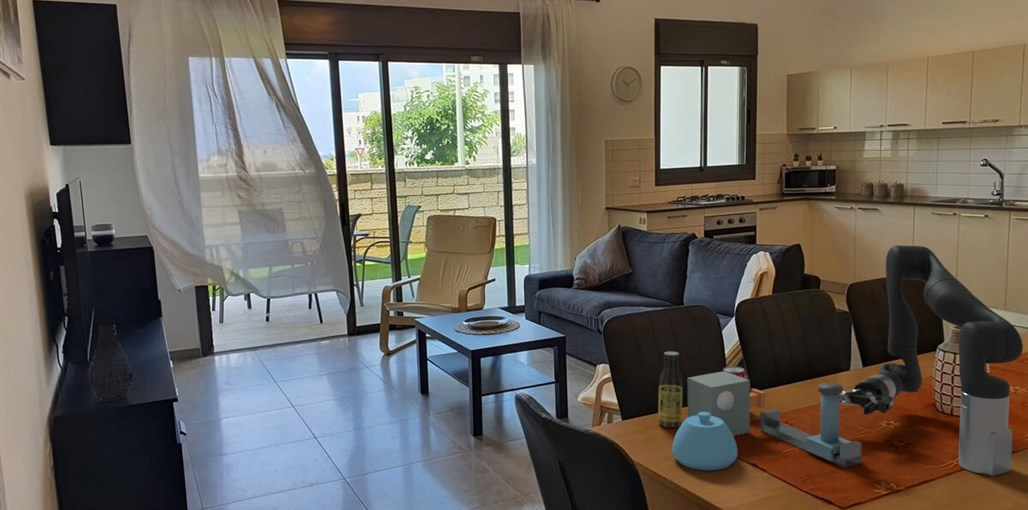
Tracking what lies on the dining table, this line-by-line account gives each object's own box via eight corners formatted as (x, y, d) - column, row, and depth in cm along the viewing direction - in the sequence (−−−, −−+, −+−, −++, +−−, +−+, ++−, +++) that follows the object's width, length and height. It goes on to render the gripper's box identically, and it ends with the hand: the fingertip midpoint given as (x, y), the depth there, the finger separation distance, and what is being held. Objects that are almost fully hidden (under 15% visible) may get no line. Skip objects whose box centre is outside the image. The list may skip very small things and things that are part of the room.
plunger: (764, 407, 203) (764, 392, 202) (739, 412, 200) (739, 397, 199) (754, 403, 207) (754, 388, 206) (729, 408, 203) (729, 393, 203)
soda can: (744, 406, 223) (744, 365, 221) (749, 414, 216) (749, 372, 214) (719, 406, 223) (719, 365, 222) (723, 414, 216) (723, 372, 215)
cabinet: (751, 433, 201) (751, 380, 199) (713, 441, 196) (712, 388, 195) (724, 421, 211) (724, 371, 209) (688, 429, 206) (687, 377, 204)
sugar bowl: (660, 454, 190) (659, 408, 188) (712, 444, 195) (712, 399, 193) (695, 477, 176) (695, 428, 174) (750, 466, 181) (750, 417, 179)
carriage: (854, 455, 183) (855, 388, 181) (830, 461, 180) (831, 393, 178) (828, 444, 190) (829, 379, 188) (805, 449, 187) (805, 384, 185)
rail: (860, 463, 179) (861, 442, 179) (844, 467, 177) (845, 446, 177) (775, 427, 205) (775, 408, 204) (760, 430, 203) (760, 412, 202)
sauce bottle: (657, 428, 208) (656, 355, 205) (659, 420, 214) (657, 349, 211) (682, 429, 206) (681, 356, 204) (683, 421, 212) (682, 350, 210)
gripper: (847, 372, 206) (819, 386, 195) (904, 382, 195) (877, 397, 184) (847, 400, 207) (819, 415, 196) (903, 411, 196) (877, 428, 185)
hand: (847, 406), depth 190 cm, fingers open, 8 cm apart
